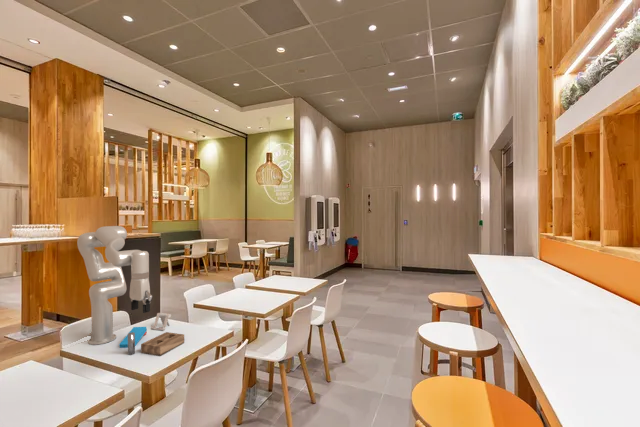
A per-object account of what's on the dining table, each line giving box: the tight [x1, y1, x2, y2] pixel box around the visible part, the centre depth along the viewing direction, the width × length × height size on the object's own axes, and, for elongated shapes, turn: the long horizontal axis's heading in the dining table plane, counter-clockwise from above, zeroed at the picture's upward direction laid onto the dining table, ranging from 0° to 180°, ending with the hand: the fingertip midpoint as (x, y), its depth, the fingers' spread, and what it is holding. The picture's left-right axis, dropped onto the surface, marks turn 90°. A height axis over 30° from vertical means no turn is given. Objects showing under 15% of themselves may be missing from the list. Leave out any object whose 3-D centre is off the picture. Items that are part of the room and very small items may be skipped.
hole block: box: [140, 331, 185, 357], centre depth 158 cm, size 12×16×4 cm
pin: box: [127, 332, 136, 356], centre depth 152 cm, size 3×3×10 cm
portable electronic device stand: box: [150, 312, 172, 332], centre depth 186 cm, size 9×8×8 cm
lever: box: [118, 326, 148, 349], centre depth 168 cm, size 7×7×18 cm
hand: (140, 310), depth 153 cm, fingers open, 9 cm apart
